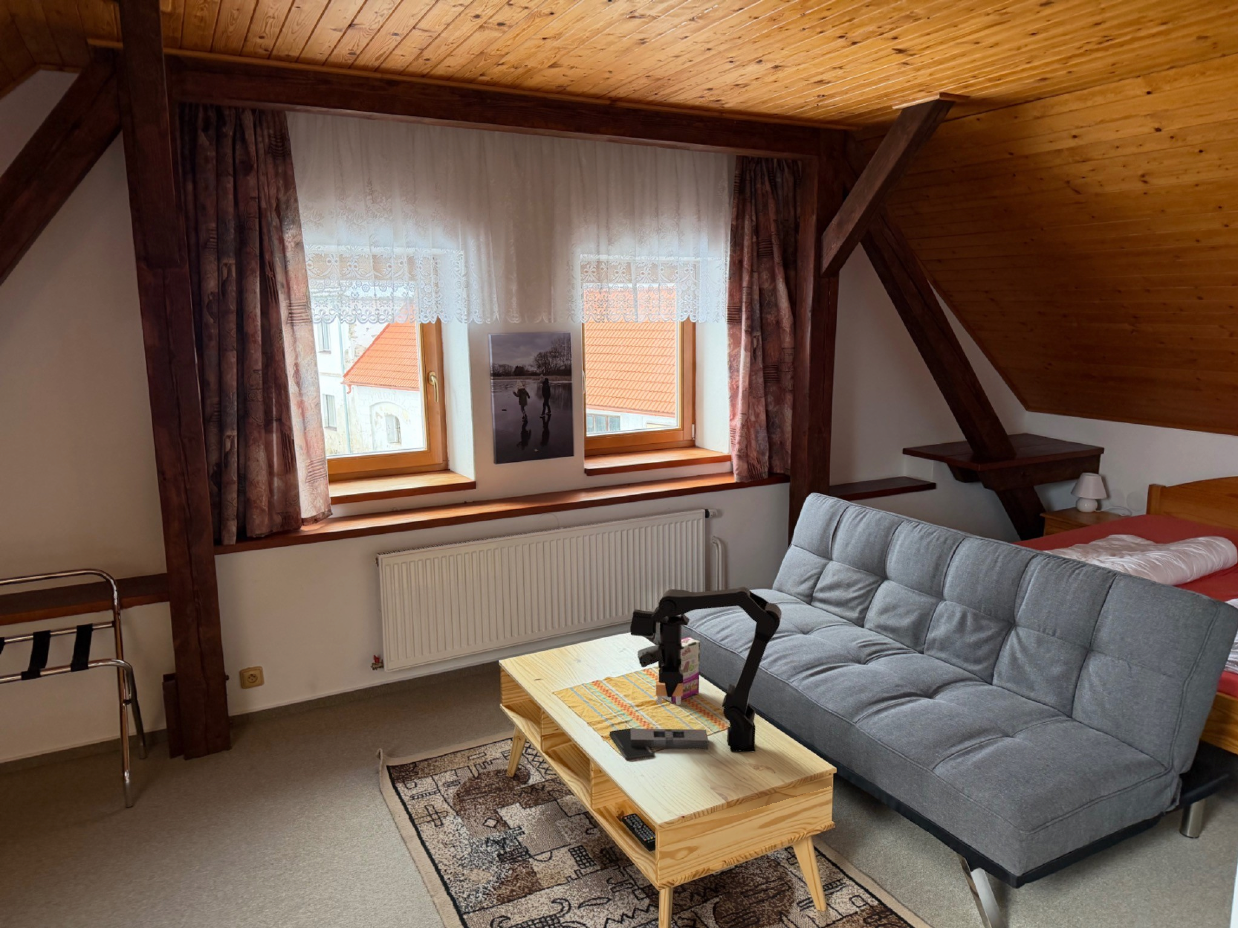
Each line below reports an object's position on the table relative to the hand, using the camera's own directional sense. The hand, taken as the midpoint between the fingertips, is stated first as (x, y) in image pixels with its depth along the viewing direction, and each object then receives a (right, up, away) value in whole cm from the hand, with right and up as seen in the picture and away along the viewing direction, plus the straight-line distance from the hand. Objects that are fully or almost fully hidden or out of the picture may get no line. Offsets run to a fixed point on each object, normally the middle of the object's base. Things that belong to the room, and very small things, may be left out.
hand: (669, 694), depth 236 cm
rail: (0, -12, -2) cm, 12 cm away
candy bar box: (+5, -7, +27) cm, 28 cm away
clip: (0, -2, 0) cm, 2 cm away
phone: (-10, -13, -3) cm, 17 cm away
